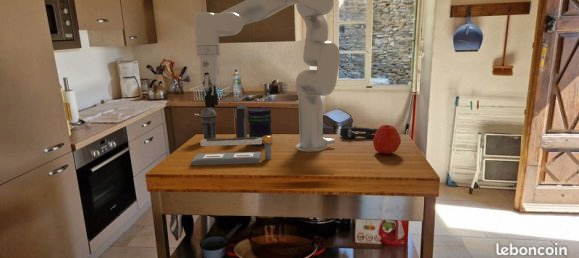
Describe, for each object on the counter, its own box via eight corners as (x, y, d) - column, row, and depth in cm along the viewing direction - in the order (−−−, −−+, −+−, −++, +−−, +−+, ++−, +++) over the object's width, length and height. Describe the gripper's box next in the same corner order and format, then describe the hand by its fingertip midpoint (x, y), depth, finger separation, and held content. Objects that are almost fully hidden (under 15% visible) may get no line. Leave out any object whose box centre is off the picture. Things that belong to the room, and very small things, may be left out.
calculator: (239, 136, 183) (237, 105, 180) (248, 136, 183) (246, 104, 180) (236, 142, 172) (234, 108, 169) (245, 142, 172) (244, 108, 169)
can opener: (340, 140, 170) (340, 127, 169) (339, 137, 177) (339, 124, 176) (381, 140, 169) (382, 127, 168) (379, 136, 176) (379, 124, 175)
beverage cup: (220, 140, 178) (217, 96, 174) (215, 143, 171) (212, 98, 167) (204, 140, 178) (201, 96, 174) (199, 144, 171) (196, 98, 167)
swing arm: (272, 141, 145) (272, 135, 145) (272, 143, 141) (272, 137, 141) (202, 143, 145) (202, 137, 144) (200, 146, 141) (200, 139, 140)
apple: (406, 152, 147) (406, 125, 145) (382, 156, 143) (383, 128, 141) (389, 147, 156) (390, 121, 154) (367, 150, 152) (367, 123, 150)
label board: (271, 155, 149) (271, 139, 148) (271, 162, 139) (270, 146, 138) (197, 157, 149) (196, 142, 148) (191, 165, 139) (190, 149, 138)
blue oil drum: (271, 146, 163) (270, 110, 160) (248, 147, 163) (246, 111, 160) (273, 141, 173) (271, 107, 170) (250, 141, 173) (249, 108, 170)
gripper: (215, 51, 121) (219, 109, 125) (223, 51, 138) (226, 102, 141) (190, 52, 121) (195, 110, 125) (201, 51, 138) (205, 103, 141)
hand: (211, 105), depth 133 cm, fingers open, 4 cm apart
